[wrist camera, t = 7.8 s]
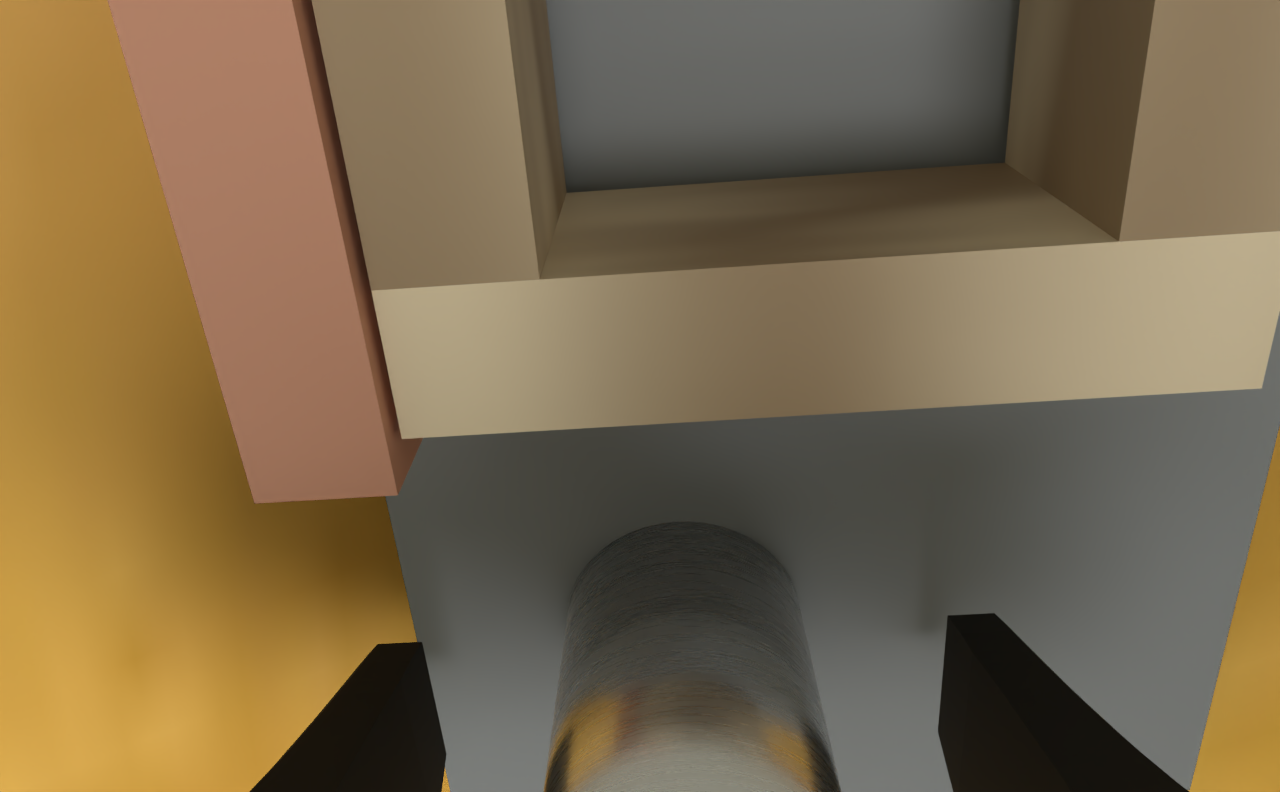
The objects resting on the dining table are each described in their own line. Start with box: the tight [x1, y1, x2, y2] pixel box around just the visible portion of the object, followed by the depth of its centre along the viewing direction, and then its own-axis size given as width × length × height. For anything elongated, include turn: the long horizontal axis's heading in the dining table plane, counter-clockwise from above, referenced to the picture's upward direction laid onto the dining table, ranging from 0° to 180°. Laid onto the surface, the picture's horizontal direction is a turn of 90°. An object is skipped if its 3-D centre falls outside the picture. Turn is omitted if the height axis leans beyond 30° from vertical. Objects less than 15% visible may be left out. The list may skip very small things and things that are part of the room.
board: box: [108, 0, 1280, 792], centre depth 11 cm, size 12×18×4 cm, turn 4°
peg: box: [543, 521, 841, 792], centre depth 12 cm, size 3×3×6 cm
